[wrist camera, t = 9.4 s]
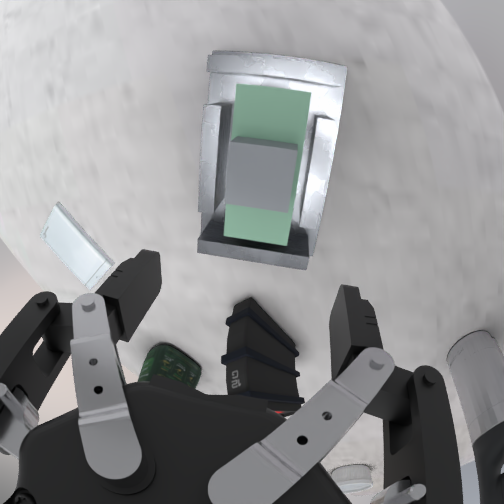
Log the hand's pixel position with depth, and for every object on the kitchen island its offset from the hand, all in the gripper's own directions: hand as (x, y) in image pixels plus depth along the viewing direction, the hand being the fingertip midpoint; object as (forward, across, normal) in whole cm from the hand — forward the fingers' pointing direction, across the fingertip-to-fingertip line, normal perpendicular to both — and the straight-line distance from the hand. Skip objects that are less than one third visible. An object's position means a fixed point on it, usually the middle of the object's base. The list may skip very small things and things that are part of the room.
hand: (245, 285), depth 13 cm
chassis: (+20, +1, -1) cm, 20 cm away
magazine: (+21, -2, +22) cm, 31 cm away
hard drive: (+21, +28, +14) cm, 38 cm away
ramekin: (+22, -36, +79) cm, 90 cm away
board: (+16, +1, -1) cm, 17 cm away
